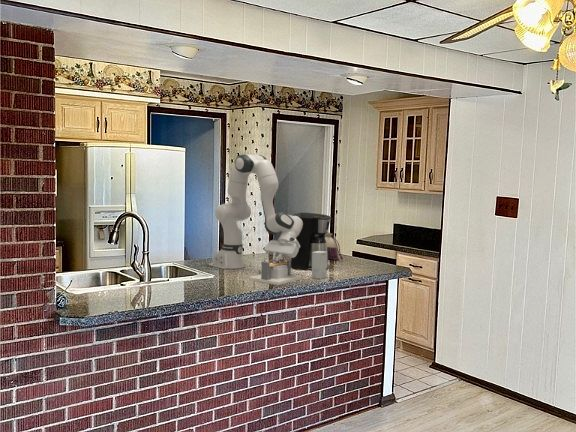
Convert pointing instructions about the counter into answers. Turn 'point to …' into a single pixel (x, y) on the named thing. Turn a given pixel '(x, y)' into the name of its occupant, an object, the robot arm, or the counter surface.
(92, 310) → the counter surface
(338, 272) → the counter surface
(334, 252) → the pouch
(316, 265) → the skincare box
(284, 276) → the socket board
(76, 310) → the counter surface
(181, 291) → the counter surface
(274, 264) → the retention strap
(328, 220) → the coffee maker
